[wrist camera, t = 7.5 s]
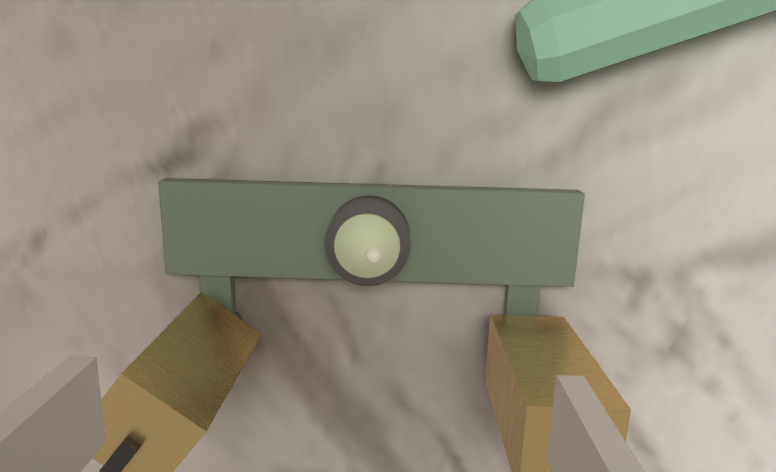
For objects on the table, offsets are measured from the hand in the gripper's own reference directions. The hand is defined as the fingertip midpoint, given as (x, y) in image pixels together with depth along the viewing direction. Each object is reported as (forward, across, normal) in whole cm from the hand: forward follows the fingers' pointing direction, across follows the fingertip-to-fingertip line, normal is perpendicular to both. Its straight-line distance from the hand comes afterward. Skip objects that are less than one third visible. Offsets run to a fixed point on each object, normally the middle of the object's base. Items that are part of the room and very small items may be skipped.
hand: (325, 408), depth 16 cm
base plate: (+21, 0, -3) cm, 21 cm away
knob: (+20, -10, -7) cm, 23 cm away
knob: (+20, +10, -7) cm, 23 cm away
